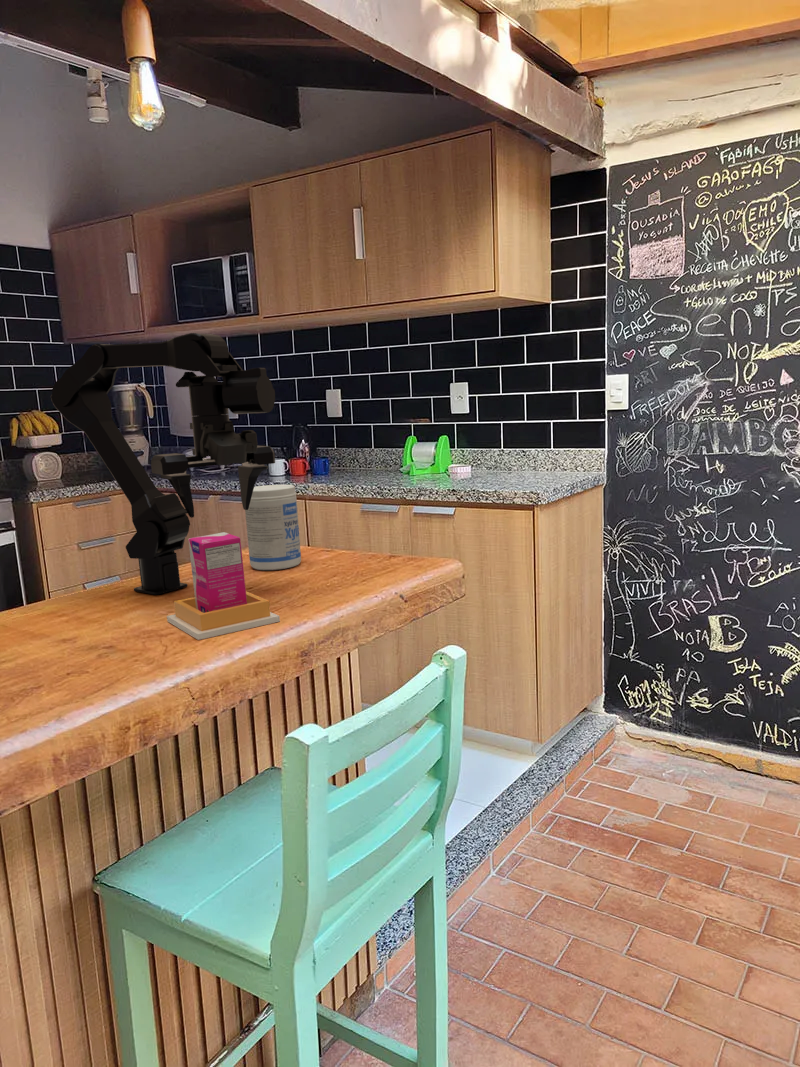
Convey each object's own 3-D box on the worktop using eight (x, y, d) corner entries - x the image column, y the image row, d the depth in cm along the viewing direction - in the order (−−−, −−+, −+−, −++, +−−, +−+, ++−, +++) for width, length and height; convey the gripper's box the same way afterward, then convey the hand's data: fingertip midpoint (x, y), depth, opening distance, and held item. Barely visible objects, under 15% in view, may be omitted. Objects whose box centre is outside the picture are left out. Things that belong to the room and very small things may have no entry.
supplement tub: (300, 569, 147) (294, 488, 144) (247, 573, 146) (240, 492, 143) (302, 558, 156) (296, 482, 153) (252, 561, 155) (246, 485, 153)
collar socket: (167, 621, 117) (165, 601, 117) (244, 605, 124) (242, 586, 123) (198, 640, 107) (195, 618, 107) (279, 621, 114) (278, 600, 114)
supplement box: (195, 615, 116) (187, 537, 114) (233, 607, 119) (226, 531, 117) (210, 624, 111) (202, 542, 109) (250, 615, 115) (242, 536, 113)
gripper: (169, 419, 116) (180, 527, 119) (286, 411, 126) (294, 510, 129) (145, 419, 125) (155, 519, 128) (256, 411, 135) (264, 504, 138)
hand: (219, 513), depth 130 cm, fingers open, 9 cm apart
